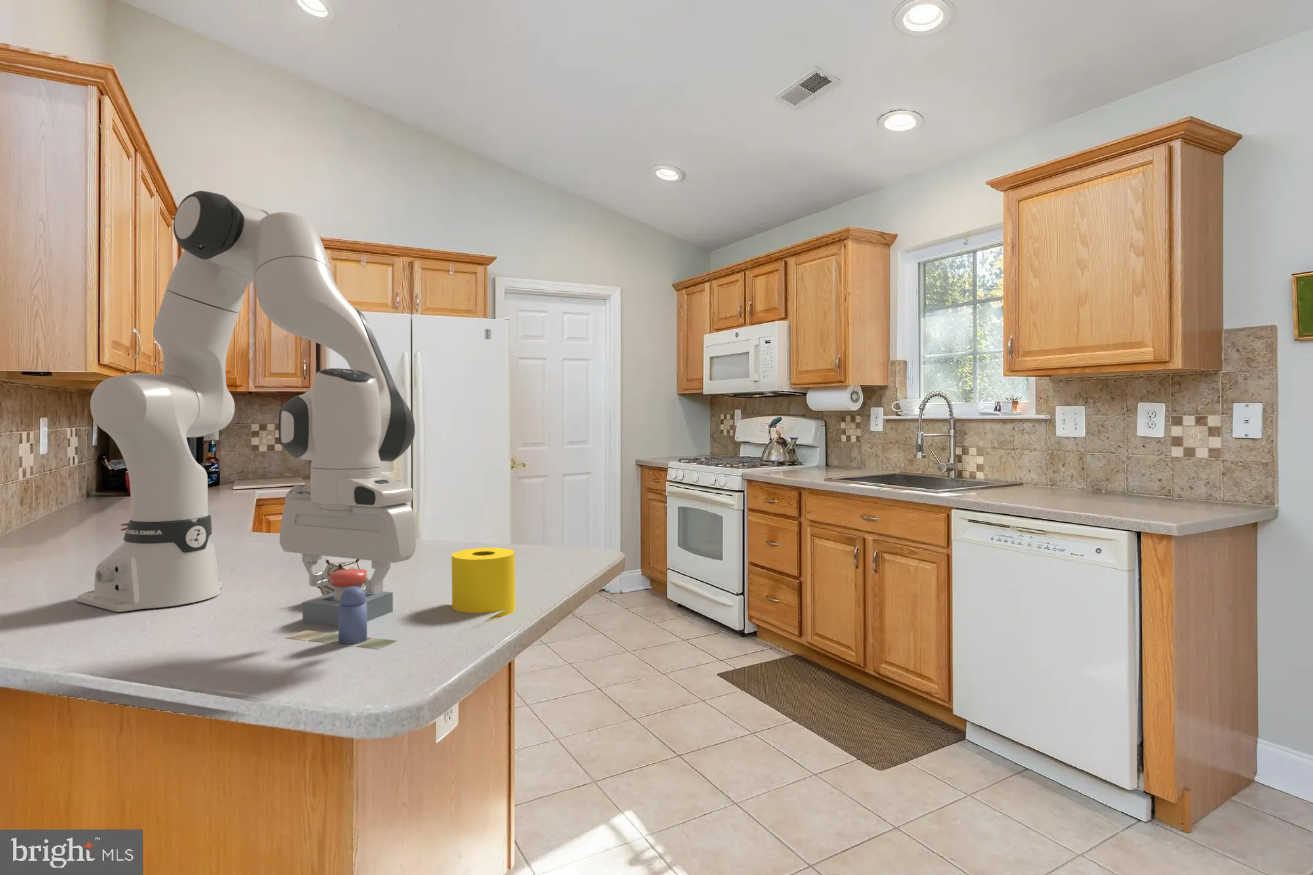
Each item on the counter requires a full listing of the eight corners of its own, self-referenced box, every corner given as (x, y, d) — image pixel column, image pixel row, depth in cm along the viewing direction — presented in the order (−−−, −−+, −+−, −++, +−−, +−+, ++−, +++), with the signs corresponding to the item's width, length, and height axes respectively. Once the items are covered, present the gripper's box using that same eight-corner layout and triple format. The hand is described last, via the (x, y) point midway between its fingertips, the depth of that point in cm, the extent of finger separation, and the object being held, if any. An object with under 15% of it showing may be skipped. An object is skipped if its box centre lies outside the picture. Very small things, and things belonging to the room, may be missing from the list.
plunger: (322, 620, 107) (322, 574, 106) (347, 611, 111) (346, 567, 111) (350, 623, 105) (350, 577, 105) (374, 614, 110) (374, 570, 110)
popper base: (302, 628, 105) (302, 601, 105) (346, 612, 114) (346, 588, 114) (352, 634, 103) (351, 606, 102) (392, 617, 111) (392, 592, 111)
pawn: (332, 642, 95) (332, 588, 95) (352, 635, 99) (352, 582, 99) (352, 645, 94) (353, 591, 94) (372, 638, 97) (373, 585, 97)
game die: (346, 630, 116) (342, 592, 111) (304, 610, 118) (298, 571, 112) (381, 594, 123) (379, 556, 117) (342, 575, 125) (337, 536, 119)
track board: (271, 649, 96) (271, 642, 96) (316, 632, 103) (316, 625, 103) (368, 662, 91) (368, 654, 91) (408, 643, 98) (408, 636, 98)
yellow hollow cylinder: (527, 610, 115) (526, 553, 115) (472, 623, 108) (471, 562, 108) (494, 599, 122) (493, 545, 122) (441, 610, 115) (440, 553, 115)
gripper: (267, 486, 96) (267, 587, 96) (392, 494, 89) (391, 602, 90) (304, 482, 102) (304, 577, 102) (423, 489, 95) (422, 591, 96)
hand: (345, 589), depth 96 cm, fingers open, 8 cm apart
